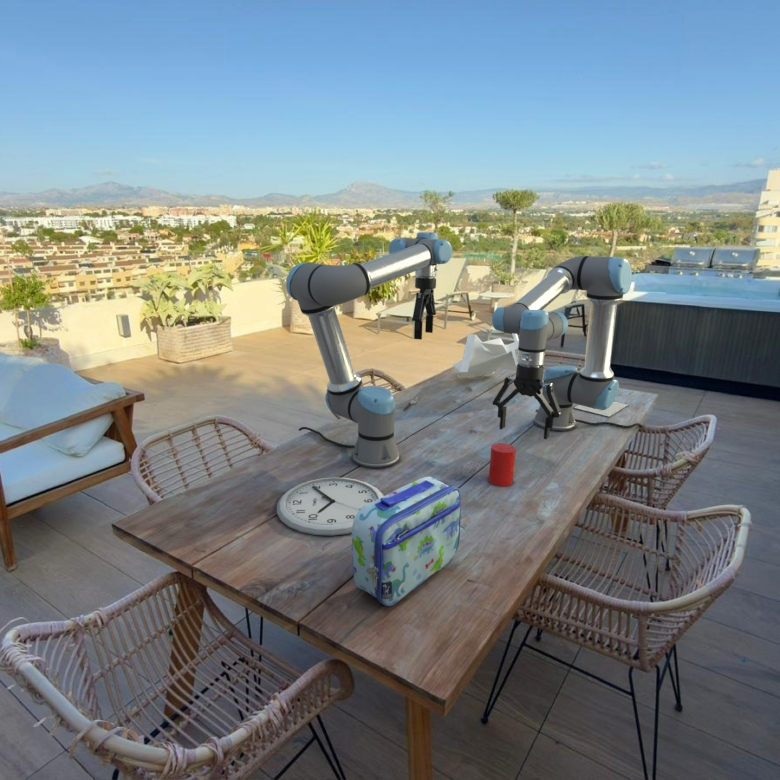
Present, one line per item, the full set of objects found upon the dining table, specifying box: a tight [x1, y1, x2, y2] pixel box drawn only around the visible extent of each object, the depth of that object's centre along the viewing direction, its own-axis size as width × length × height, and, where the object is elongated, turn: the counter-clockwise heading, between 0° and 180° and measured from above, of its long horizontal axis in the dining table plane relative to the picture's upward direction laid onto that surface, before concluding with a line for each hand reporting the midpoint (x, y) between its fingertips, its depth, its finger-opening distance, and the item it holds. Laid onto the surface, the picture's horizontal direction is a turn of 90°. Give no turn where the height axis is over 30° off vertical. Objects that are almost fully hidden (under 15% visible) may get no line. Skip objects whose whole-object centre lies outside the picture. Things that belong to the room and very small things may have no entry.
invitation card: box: [573, 400, 629, 418], centre depth 226 cm, size 21×1×15 cm
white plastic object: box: [452, 333, 519, 379], centre depth 256 cm, size 37×45×31 cm
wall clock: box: [276, 476, 385, 537], centre depth 142 cm, size 30×2×30 cm
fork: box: [403, 395, 419, 411], centre depth 222 cm, size 3×16×2 cm, turn 160°
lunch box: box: [351, 476, 462, 607], centre depth 111 cm, size 26×11×21 cm, turn 135°
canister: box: [488, 442, 517, 487], centre depth 157 cm, size 7×7×11 cm
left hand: (423, 335), depth 193 cm, fingers open, 13 cm apart
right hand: (523, 432), depth 157 cm, fingers open, 13 cm apart
